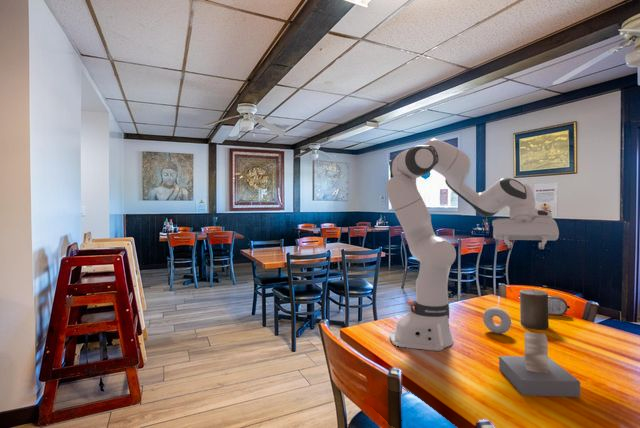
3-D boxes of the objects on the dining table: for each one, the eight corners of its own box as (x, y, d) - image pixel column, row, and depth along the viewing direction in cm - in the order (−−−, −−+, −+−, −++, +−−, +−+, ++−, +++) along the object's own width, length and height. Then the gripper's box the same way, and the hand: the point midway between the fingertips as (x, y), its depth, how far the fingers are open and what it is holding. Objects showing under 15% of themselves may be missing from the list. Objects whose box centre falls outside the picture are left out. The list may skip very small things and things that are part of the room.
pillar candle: (553, 330, 129) (553, 291, 129) (526, 329, 131) (526, 291, 130) (541, 321, 139) (540, 286, 139) (516, 321, 140) (515, 285, 140)
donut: (512, 335, 125) (512, 308, 125) (509, 337, 123) (509, 311, 123) (484, 328, 132) (484, 303, 132) (481, 331, 130) (481, 305, 130)
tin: (567, 315, 146) (567, 296, 145) (568, 317, 143) (568, 298, 143) (527, 310, 154) (526, 292, 153) (527, 312, 151) (526, 294, 151)
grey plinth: (522, 395, 86) (522, 380, 86) (499, 368, 100) (499, 355, 100) (580, 397, 85) (580, 381, 85) (548, 370, 99) (548, 356, 98)
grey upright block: (526, 369, 91) (525, 337, 91) (524, 362, 96) (524, 331, 95) (548, 373, 89) (547, 340, 89) (545, 365, 93) (545, 334, 93)
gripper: (491, 213, 127) (492, 241, 119) (556, 212, 117) (561, 242, 109) (492, 224, 131) (492, 252, 123) (554, 223, 121) (559, 254, 113)
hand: (525, 247), depth 116 cm, fingers open, 8 cm apart
